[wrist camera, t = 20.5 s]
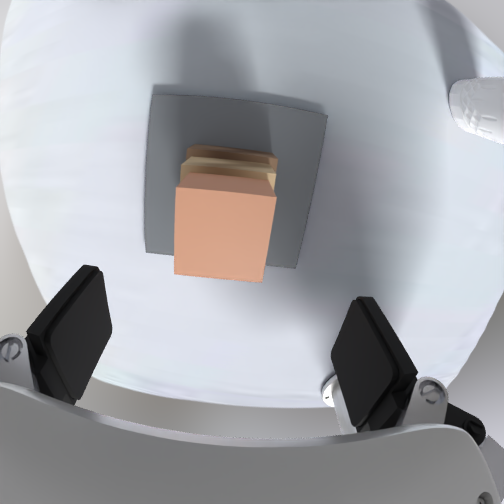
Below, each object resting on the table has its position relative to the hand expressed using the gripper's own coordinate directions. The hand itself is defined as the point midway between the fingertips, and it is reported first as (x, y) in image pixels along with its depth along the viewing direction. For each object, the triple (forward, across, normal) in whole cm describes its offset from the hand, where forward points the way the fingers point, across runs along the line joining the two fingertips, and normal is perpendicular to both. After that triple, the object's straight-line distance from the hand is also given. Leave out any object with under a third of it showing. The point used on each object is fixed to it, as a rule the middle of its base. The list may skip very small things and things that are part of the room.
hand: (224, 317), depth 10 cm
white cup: (+19, -25, -17) cm, 36 cm away
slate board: (+19, +1, -1) cm, 19 cm away
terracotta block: (+10, +1, -1) cm, 10 cm away
